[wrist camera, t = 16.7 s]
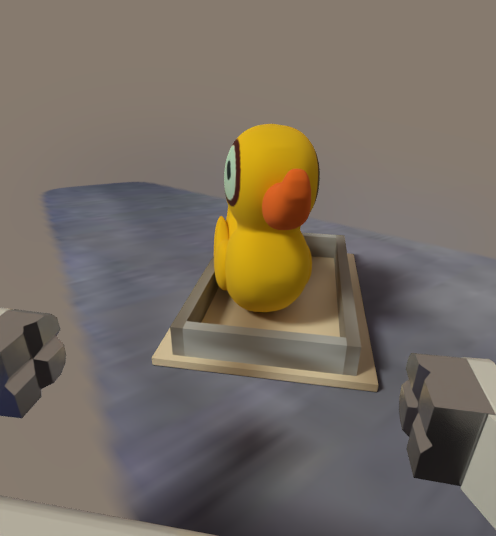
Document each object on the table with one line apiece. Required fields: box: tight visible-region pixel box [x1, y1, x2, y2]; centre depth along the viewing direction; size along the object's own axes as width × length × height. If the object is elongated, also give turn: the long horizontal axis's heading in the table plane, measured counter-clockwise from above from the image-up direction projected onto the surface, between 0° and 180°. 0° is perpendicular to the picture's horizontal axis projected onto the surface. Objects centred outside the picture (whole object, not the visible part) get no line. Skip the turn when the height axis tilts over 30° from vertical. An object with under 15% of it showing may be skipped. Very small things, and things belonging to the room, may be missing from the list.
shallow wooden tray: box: [152, 233, 378, 392], centre depth 24 cm, size 10×14×2 cm
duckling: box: [214, 124, 320, 312], centre depth 21 cm, size 11×5×10 cm, turn 8°
